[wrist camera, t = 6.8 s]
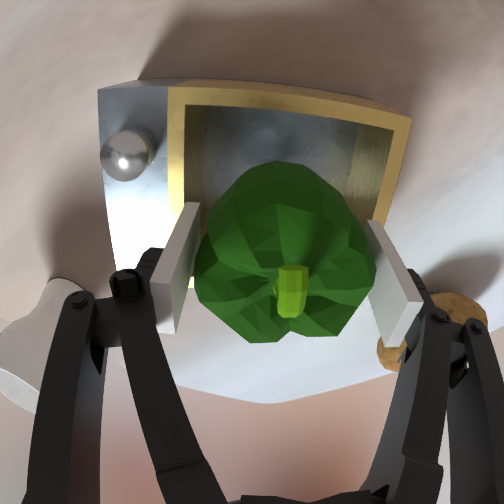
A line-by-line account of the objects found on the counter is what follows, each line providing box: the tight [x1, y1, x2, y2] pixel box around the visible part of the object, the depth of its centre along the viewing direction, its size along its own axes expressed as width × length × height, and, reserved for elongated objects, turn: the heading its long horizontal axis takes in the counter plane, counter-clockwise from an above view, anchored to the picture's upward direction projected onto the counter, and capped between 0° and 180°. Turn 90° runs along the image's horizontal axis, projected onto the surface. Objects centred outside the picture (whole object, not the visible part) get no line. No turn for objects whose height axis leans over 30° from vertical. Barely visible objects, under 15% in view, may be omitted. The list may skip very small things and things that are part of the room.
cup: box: [0, 278, 83, 414], centre depth 30 cm, size 11×11×15 cm
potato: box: [377, 292, 488, 372], centre depth 32 cm, size 10×14×8 cm
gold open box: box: [98, 78, 412, 288], centre depth 22 cm, size 19×14×9 cm
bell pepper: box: [194, 160, 377, 343], centre depth 16 cm, size 8×8×10 cm
